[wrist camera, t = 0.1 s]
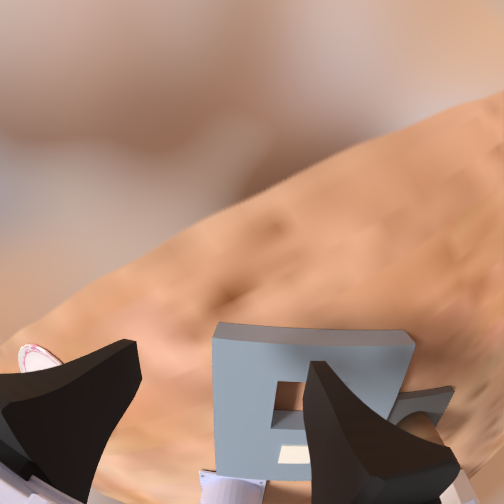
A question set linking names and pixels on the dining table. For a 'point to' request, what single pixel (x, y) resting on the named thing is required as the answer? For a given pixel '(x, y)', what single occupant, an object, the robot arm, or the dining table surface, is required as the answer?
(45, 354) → the teacup
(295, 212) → the dining table surface
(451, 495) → the milk carton
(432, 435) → the walnut peg
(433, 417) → the pad
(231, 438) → the hole plate
